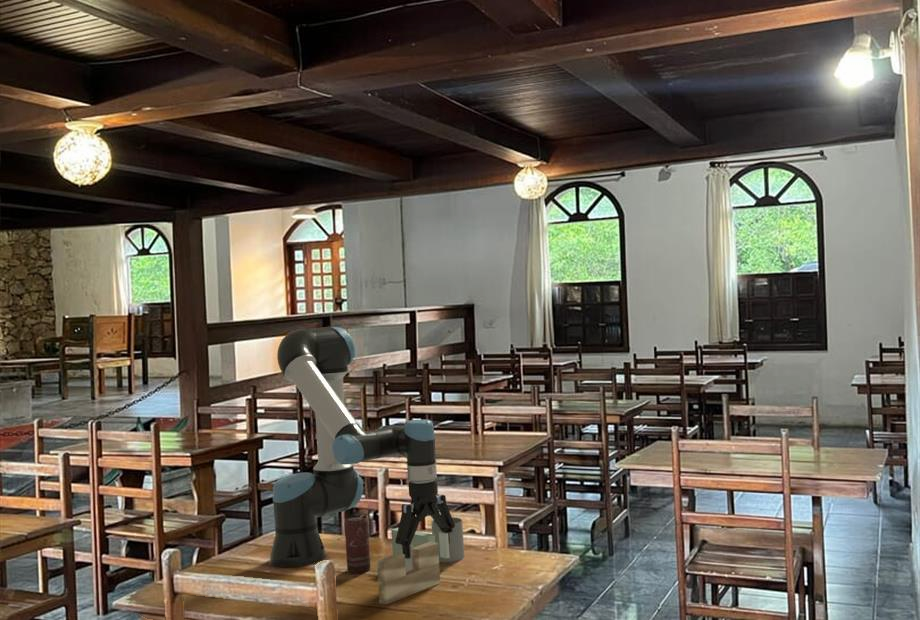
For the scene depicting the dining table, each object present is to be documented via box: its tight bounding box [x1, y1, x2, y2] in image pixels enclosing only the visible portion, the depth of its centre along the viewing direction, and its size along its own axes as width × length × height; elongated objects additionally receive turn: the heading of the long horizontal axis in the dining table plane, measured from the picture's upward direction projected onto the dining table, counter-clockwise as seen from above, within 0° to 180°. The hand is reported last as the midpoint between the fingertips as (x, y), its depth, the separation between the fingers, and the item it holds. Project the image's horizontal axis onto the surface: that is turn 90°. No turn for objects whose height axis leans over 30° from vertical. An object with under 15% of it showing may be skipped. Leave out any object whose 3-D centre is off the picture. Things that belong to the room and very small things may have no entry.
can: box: [344, 514, 371, 575], centre depth 225 cm, size 6×6×14 cm
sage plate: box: [390, 527, 435, 555], centre depth 222 cm, size 14×2×10 cm, turn 47°
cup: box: [431, 516, 465, 563], centre depth 232 cm, size 8×8×10 cm
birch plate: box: [376, 542, 441, 605], centre depth 204 cm, size 2×18×10 cm, turn 137°
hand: (427, 563), depth 219 cm, fingers open, 12 cm apart
